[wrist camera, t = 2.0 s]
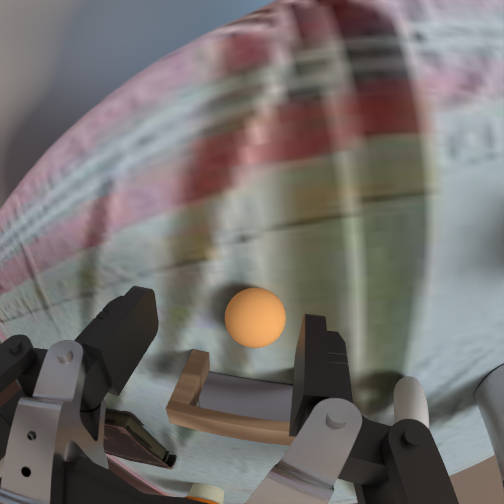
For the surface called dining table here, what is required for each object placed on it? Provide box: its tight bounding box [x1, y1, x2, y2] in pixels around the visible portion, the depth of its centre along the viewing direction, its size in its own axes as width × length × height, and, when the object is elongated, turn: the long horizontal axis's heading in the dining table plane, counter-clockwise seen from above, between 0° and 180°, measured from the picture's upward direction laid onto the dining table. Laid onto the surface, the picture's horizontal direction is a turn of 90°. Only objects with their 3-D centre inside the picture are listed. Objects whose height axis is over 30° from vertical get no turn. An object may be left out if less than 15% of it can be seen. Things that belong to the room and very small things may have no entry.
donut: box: [393, 376, 429, 429], centre depth 26 cm, size 10×4×10 cm, turn 20°
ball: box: [225, 288, 286, 348], centre depth 26 cm, size 6×6×6 cm
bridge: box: [166, 349, 296, 445], centre depth 28 cm, size 3×14×9 cm, turn 86°
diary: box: [103, 409, 177, 469], centre depth 48 cm, size 19×25×5 cm
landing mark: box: [199, 371, 293, 422], centre depth 36 cm, size 14×14×1 cm
